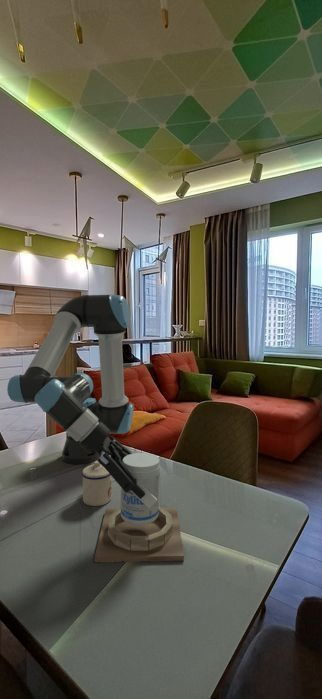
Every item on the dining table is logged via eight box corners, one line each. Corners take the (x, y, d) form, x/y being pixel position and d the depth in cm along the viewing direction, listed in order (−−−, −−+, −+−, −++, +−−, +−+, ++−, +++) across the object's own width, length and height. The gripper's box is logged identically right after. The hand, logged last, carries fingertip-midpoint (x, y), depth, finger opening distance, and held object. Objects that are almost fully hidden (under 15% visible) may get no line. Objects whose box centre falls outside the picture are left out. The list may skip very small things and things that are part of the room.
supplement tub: (119, 527, 79) (119, 467, 78) (122, 506, 89) (122, 452, 88) (159, 527, 80) (160, 467, 79) (158, 505, 89) (159, 452, 88)
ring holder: (105, 512, 94) (105, 500, 94) (176, 511, 95) (176, 499, 95) (94, 562, 74) (94, 546, 74) (183, 560, 75) (184, 545, 75)
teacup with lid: (115, 504, 99) (115, 465, 98) (84, 509, 96) (83, 470, 95) (107, 485, 110) (107, 451, 110) (79, 490, 107) (79, 454, 106)
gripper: (86, 428, 93) (142, 483, 95) (67, 459, 71) (141, 530, 73) (105, 409, 93) (161, 464, 95) (92, 435, 71) (165, 506, 73)
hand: (152, 493), depth 84 cm, fingers closed on supplement tub, 9 cm apart
